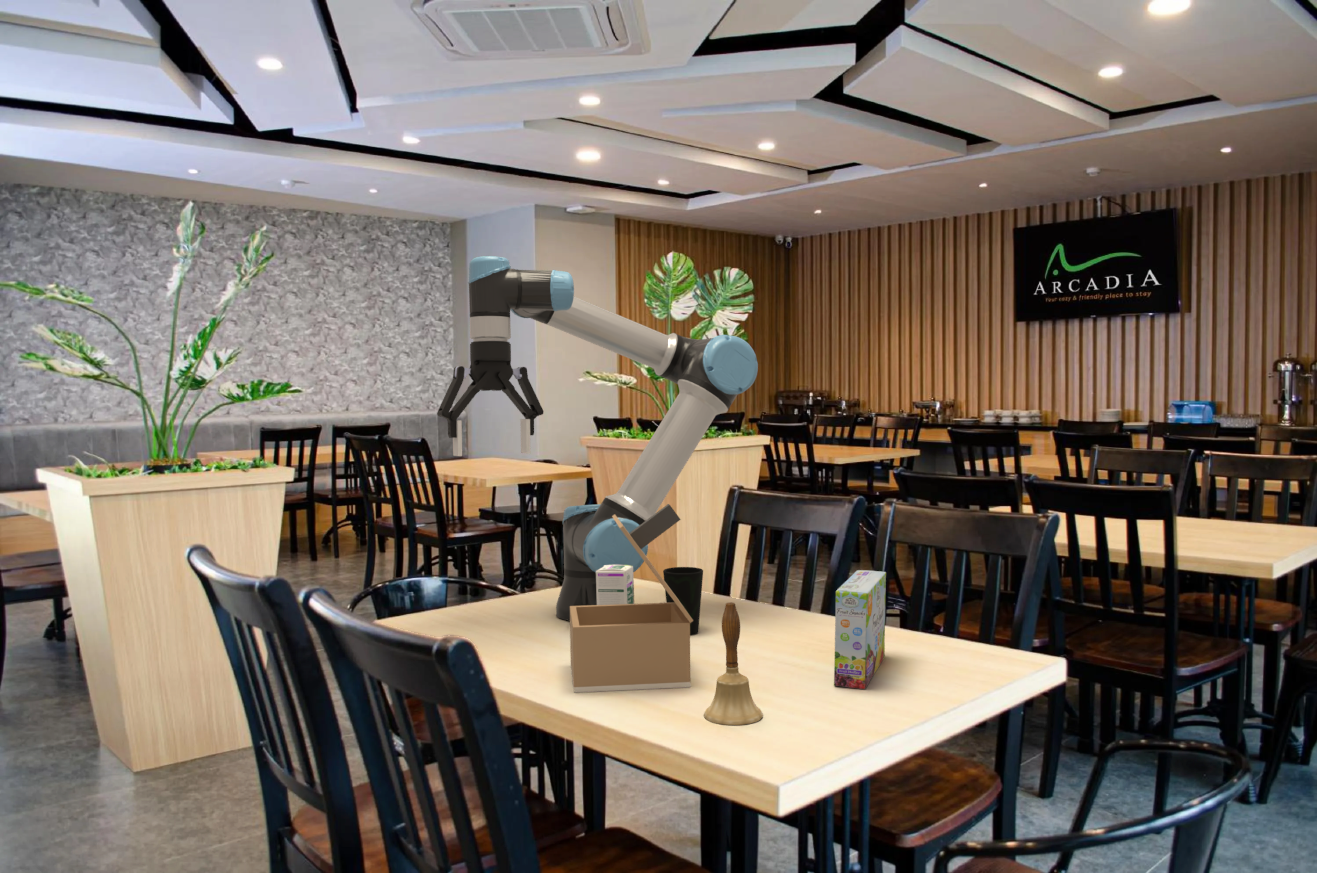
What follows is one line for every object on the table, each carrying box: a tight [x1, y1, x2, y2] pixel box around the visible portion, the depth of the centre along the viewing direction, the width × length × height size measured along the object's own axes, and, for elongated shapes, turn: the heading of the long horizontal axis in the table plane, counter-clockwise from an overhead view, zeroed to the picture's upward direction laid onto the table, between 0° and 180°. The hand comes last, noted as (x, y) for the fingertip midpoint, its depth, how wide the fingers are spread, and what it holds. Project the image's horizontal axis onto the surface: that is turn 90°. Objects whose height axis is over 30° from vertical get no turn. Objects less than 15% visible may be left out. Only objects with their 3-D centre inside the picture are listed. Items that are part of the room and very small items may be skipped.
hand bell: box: [703, 602, 764, 726], centre depth 138 cm, size 8×8×16 cm
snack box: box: [833, 569, 887, 690], centre depth 160 cm, size 21×6×15 cm, turn 160°
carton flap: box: [612, 503, 693, 623], centre depth 159 cm, size 18×16×9 cm
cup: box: [663, 566, 704, 636], centre depth 188 cm, size 8×8×12 cm
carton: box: [569, 602, 692, 693], centre depth 159 cm, size 18×16×10 cm
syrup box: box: [596, 564, 635, 605], centre depth 178 cm, size 6×6×14 cm
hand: (492, 454), depth 184 cm, fingers open, 13 cm apart
